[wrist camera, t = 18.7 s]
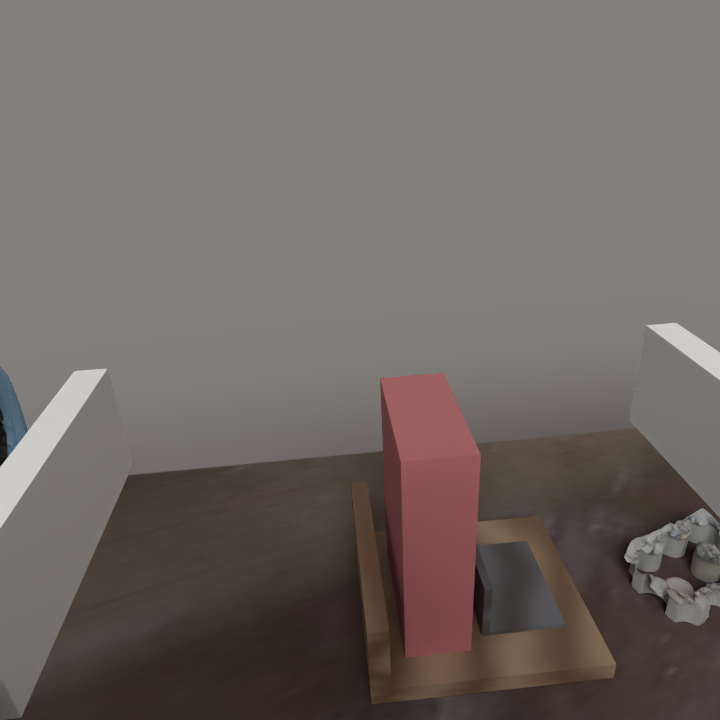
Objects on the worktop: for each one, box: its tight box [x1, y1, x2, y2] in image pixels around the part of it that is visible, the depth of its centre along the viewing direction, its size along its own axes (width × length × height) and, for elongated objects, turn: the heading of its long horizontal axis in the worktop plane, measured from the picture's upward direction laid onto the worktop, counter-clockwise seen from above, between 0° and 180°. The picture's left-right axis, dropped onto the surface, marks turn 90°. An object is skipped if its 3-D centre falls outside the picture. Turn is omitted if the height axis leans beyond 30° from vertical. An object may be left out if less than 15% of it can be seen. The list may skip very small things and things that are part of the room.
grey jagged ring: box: [624, 508, 720, 625], centre depth 50 cm, size 11×8×4 cm
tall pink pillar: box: [380, 373, 481, 658], centre depth 45 cm, size 5×11×18 cm, turn 5°
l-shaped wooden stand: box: [351, 482, 616, 705], centre depth 48 cm, size 18×16×8 cm
